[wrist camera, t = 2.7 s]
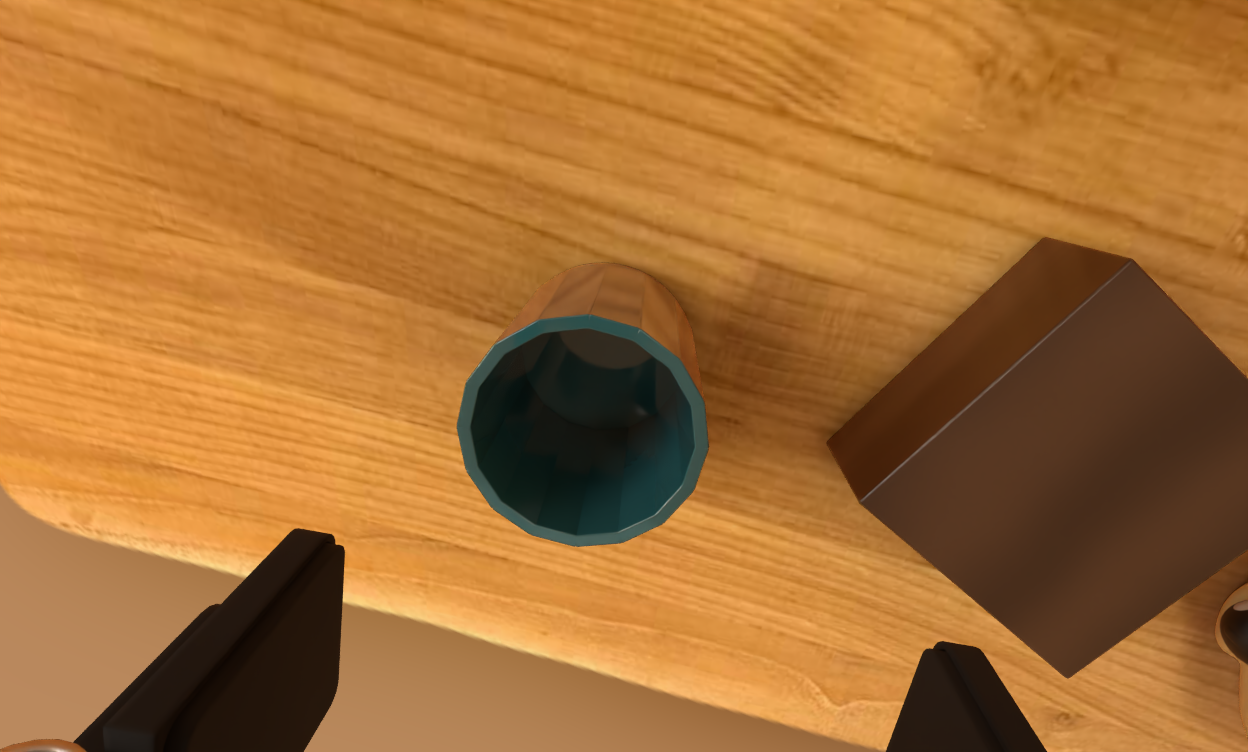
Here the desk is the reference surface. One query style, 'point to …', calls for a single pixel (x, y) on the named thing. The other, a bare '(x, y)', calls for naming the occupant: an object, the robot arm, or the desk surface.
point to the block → (1062, 453)
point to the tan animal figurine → (1236, 641)
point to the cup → (588, 409)
